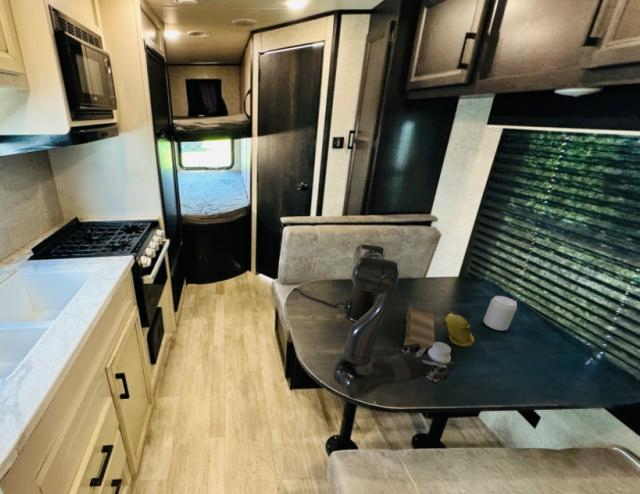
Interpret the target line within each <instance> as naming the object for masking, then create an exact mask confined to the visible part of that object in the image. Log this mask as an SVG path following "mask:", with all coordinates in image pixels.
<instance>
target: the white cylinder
mask: <svg viewBox="0 0 640 494" xmlns="http://www.w3.org/2000/svg"><path fill="white" fill-rule="evenodd" d="M517 305H518V304H517V302H516V301H515V300H514V299H512V298H510V297H507V296H503V295H495V296H494V297H493V298H491V299H490V303H489V305H488V308H487V310H486V313H485V315H484V318H483V323H484V324H485V325H486V326H487V327H489V328H491V329H493V330H497V331H502V332H503V331H508V329H509V327H510V325H511V323H512V320H513V319H514V316H515V314H516V312H517V309H518V306H517Z"/></svg>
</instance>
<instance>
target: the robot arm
mask: <svg viewBox="0 0 640 494" xmlns="http://www.w3.org/2000/svg"><path fill="white" fill-rule="evenodd" d="M385 250H386V249H385V248H384V246H379V245H372V244H363V243H362V244H361V243H360V244H359V245H358V246H356V248H355V250H354V253H353V268H352V272H351V280H352V281H351V282H352V290H351V295H350V298H346V300H345V302H337V303H336V304H331V303H329V302H326V301H325V300H321V299H320V298H319V299H318V298H316V297H312V296H310V295H307V294H305V293H304V292H303V291H302V290H300V289H299V288H297V287H294V288H292V290H293V291H298V292H299V293H300V294H301V295H302V296H304V297H306V298H308V299H310V300H314V301H317V302H320V303H322V304H325V305H326V306H329V307H333V308H337V307H338V306H340V305H341V306H342V305H343V306H344V307H343V310H344V311H347V315H346V318H347V319H349V320H350V321H352V322H353V324H352V326H351V327H350V329H349V331H348V334H347V337H346V342H345V347H344V351H343V352H342V354H341V356H340V357H339V359H338V361H337V362H336V364H335V366H334V367H333V378H334V381H335V383H336V384H337V385H338V386H339V387H340V389H341V390H342V391H343V392H344V393H345V394H346V396H348V397H349V398H351V399H353V400H362V399H365V398H366V397H368V396H369V395H371V394H372V393H374V392H375V391H377V390H379V389H380V388H382V387H386V386H390V385H396V384H397V385H398V384H401V383H404V382H405V383H406V382H409V381H413V380H417V379H419V378H422V377H426V376H428V377H429V378H431V379H432V380H431V379H430V380H431V383H432V384H434V385H437V384H439V383H441V382H443V381H445V380H447V379H448V378H449V376H450V374H451V371H454V370H455V367H456V363H455V362H454V361H450V363H446V364H444V365H442V364H437V363H436V362H430V361H429V360H428V359H427V358H426V356H424V355H427V353H428V351H429V349H430V348H433V347H427V348H424V347H420V345H419V344H412V345H404V344H403V345H402V346H401V348H400V349H401V350H400V353H398V354H394V355H390V356H387V357H384V358H381V359H377V360H373V361H371V360H372V359H371V358H372V355H373V352H374V347H375V343H376V339H377V337H378V333H379V331H380V328H381V326H382V324H383V321H384V319H385V316H386V314H387V312H388V309H389V306H390V304H391V302H392V299H393V297H394V294H395V291H396V289H397V285H398V282H399V279H400V278H399V277H400V266H399V264H398V262H396V261H394V260H389V259H385V258H386V257H385V256H386V251H385ZM377 294H378V297H377ZM376 297H377V298H376ZM414 348H415V349H414ZM415 352H417V353H415ZM432 366H433V369H431V368H432ZM357 367H363V373H361V371H359V369H357ZM438 368H441V369H438ZM428 377H427V378H428ZM429 378H428V379H429Z"/></svg>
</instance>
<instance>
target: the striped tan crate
mask: <svg viewBox="0 0 640 494" xmlns="http://www.w3.org/2000/svg"><path fill="white" fill-rule="evenodd" d="M412 306H413V305H412V304H409V305H408V309H407V313H406V317H405V321H404V322H405V323H406V329H405V338H404V342H403V345H412V344H419V345H420V347H424V348H427V347H433V345H434V343H435V342H436V341H435V319H434V317H435V316H434V314H433V313H430V312H429V313H428V312H427V311H426V312H425V311H422V310H417V309H413V307H412ZM414 349H415V348H414ZM416 353H417V352H415V354H416ZM424 356H425V357H426V356H427V355H424Z"/></svg>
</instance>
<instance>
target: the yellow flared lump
mask: <svg viewBox="0 0 640 494" xmlns="http://www.w3.org/2000/svg"><path fill="white" fill-rule="evenodd" d="M444 321H445V322H446V327H447V331H448V334H449V335H448V338H449V339H448V340H449V341H450V343H451V344H453V345H455V346H458V347H464V348H468V347H471V346H473V345H474V344H475V342H476V339H475V337H474V336H473V335H472V333H471V331H470V327H471V324H470V323H469V322H468V320H466V319H465V318H464V316H461V315H460V314H459V313H458V312H457V311H451V312H450V313H448V314H447V316H446V317H445V318H444Z"/></svg>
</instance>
